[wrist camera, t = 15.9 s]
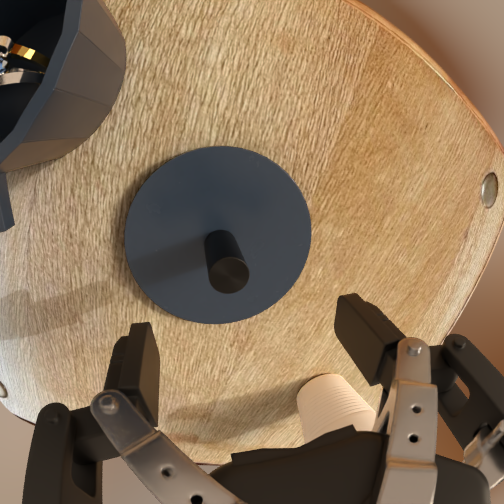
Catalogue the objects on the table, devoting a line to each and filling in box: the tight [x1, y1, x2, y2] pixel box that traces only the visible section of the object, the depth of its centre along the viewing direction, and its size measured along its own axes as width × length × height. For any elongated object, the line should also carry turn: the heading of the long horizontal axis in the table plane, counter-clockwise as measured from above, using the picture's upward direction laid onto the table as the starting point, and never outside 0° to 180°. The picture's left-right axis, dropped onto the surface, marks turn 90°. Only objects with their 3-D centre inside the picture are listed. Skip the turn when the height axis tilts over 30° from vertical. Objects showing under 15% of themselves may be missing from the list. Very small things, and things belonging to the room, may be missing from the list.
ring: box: [0, 36, 51, 86], centre depth 10 cm, size 7×3×8 cm, turn 63°
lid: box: [124, 146, 311, 324], centre depth 19 cm, size 14×14×6 cm
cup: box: [296, 374, 376, 444], centre depth 26 cm, size 10×10×11 cm
